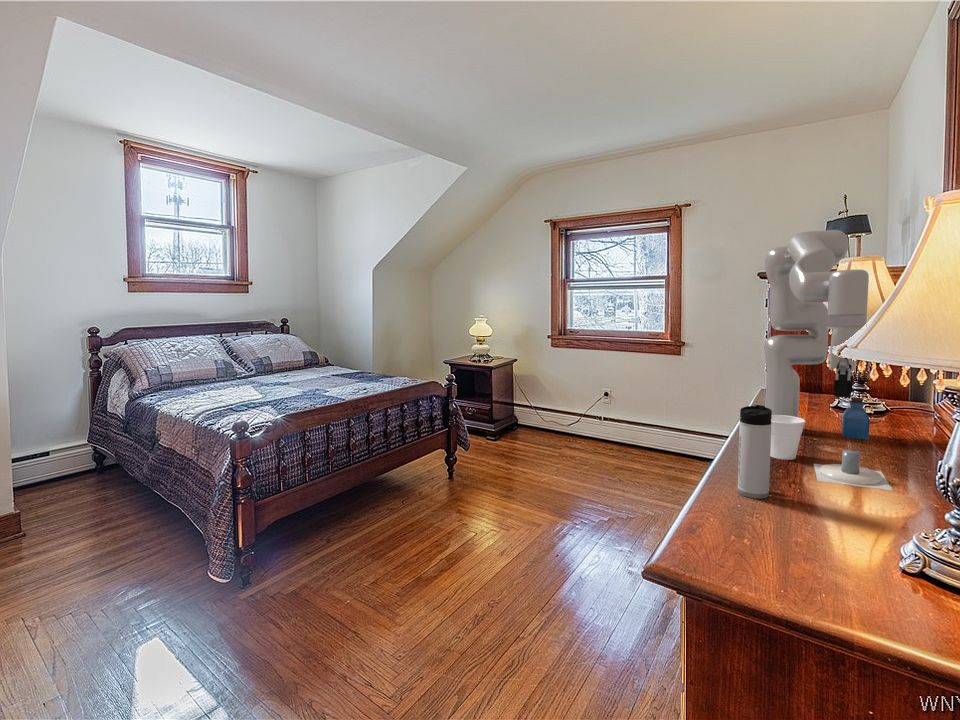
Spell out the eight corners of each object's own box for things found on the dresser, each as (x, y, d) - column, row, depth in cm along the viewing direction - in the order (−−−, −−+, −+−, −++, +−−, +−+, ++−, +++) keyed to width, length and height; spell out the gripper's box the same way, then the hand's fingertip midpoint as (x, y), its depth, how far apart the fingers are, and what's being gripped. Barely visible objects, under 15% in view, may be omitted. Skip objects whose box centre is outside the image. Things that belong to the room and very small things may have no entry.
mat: (813, 465, 131) (813, 463, 130) (881, 473, 123) (881, 471, 123) (817, 482, 119) (817, 480, 118) (892, 492, 111) (892, 490, 111)
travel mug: (773, 492, 113) (776, 406, 111) (763, 501, 109) (767, 411, 106) (743, 486, 118) (746, 403, 115) (733, 494, 113) (735, 408, 111)
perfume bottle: (868, 439, 152) (871, 401, 151) (843, 437, 155) (845, 399, 154) (866, 434, 157) (868, 397, 156) (841, 432, 161) (843, 396, 159)
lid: (818, 465, 129) (819, 442, 128) (876, 471, 123) (878, 448, 122) (822, 480, 119) (823, 455, 118) (886, 488, 113) (887, 462, 112)
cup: (810, 464, 132) (812, 423, 130) (769, 462, 134) (770, 422, 132) (794, 453, 141) (796, 415, 140) (756, 451, 143) (757, 414, 142)
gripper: (829, 321, 127) (826, 388, 128) (824, 323, 113) (821, 398, 115) (867, 321, 122) (863, 390, 124) (866, 323, 109) (862, 401, 110)
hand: (843, 394), depth 119 cm, fingers open, 9 cm apart
